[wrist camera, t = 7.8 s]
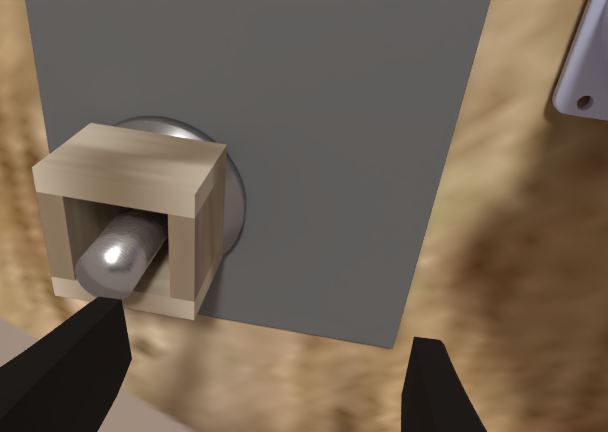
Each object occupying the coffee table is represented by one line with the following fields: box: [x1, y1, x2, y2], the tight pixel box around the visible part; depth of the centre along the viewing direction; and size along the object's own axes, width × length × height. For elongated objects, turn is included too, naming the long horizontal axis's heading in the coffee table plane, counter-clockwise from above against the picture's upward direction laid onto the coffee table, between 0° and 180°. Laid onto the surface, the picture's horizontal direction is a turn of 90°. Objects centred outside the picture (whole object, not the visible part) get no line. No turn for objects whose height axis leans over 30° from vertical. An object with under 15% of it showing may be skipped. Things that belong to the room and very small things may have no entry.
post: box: [75, 116, 247, 300], centre depth 20 cm, size 7×7×6 cm
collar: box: [32, 123, 227, 320], centre depth 20 cm, size 5×5×4 cm
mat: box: [25, 0, 490, 349], centre depth 19 cm, size 16×26×1 cm, turn 174°
